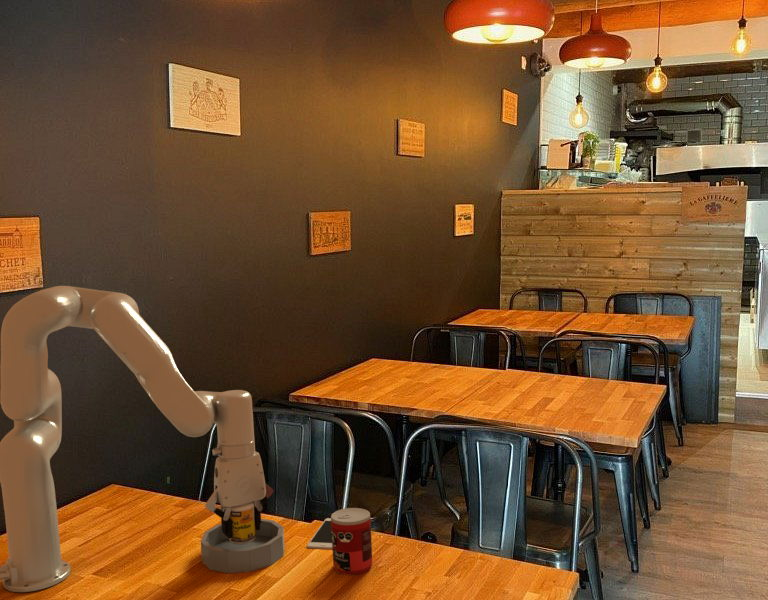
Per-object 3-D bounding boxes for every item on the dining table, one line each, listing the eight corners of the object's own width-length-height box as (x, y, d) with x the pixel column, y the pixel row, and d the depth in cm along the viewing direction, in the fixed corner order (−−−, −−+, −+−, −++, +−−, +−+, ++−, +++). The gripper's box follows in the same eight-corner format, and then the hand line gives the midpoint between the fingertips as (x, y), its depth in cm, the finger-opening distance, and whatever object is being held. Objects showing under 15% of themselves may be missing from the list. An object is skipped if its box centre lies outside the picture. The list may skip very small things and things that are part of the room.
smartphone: (306, 549, 164) (306, 545, 164) (326, 521, 179) (326, 517, 179) (338, 551, 162) (338, 547, 162) (355, 522, 177) (355, 518, 177)
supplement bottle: (228, 547, 159) (225, 499, 157) (230, 536, 164) (227, 490, 163) (255, 544, 159) (252, 497, 158) (256, 533, 165) (253, 488, 164)
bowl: (221, 580, 150) (220, 558, 150) (191, 552, 164) (190, 532, 164) (298, 556, 160) (296, 535, 159) (263, 531, 174) (262, 512, 173)
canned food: (328, 563, 156) (325, 512, 155) (364, 555, 159) (361, 504, 158) (341, 579, 149) (338, 525, 148) (378, 570, 152) (376, 517, 151)
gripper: (204, 462, 152) (210, 549, 154) (281, 445, 161) (286, 527, 163) (191, 453, 158) (197, 537, 160) (266, 437, 167) (270, 516, 169)
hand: (242, 531), depth 161 cm, fingers closed on supplement bottle, 5 cm apart
